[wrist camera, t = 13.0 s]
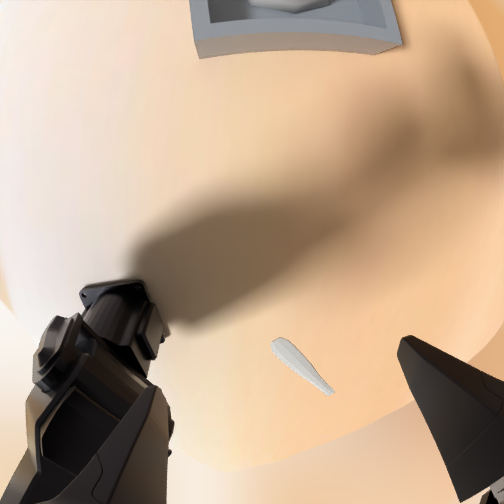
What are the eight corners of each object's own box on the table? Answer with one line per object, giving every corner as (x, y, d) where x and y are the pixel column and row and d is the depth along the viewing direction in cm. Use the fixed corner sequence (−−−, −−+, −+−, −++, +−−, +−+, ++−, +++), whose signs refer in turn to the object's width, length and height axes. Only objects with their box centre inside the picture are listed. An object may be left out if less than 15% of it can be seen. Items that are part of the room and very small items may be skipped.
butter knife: (292, 330, 24) (266, 348, 25) (372, 416, 35) (357, 426, 36) (290, 326, 25) (265, 344, 25) (371, 414, 36) (355, 424, 36)
